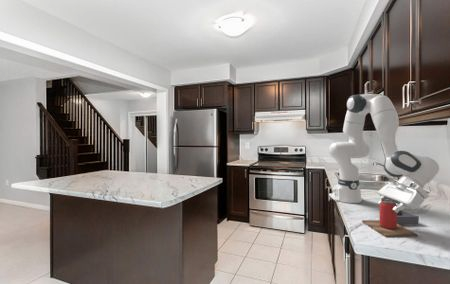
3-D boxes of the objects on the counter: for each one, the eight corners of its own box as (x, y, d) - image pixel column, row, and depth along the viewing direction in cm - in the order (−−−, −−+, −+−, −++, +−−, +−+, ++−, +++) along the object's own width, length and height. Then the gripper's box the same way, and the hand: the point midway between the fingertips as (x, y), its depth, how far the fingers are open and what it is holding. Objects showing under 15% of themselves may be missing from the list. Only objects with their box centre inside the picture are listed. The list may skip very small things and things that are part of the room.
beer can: (388, 230, 101) (389, 203, 101) (375, 224, 108) (376, 199, 107) (400, 228, 103) (400, 202, 102) (387, 223, 109) (387, 198, 109)
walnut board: (362, 222, 113) (362, 220, 113) (389, 221, 113) (389, 220, 113) (385, 236, 97) (385, 234, 97) (417, 236, 97) (417, 234, 97)
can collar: (380, 216, 121) (380, 209, 121) (400, 216, 121) (400, 208, 121) (396, 224, 110) (396, 216, 110) (418, 224, 110) (418, 216, 110)
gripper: (386, 177, 115) (367, 196, 115) (422, 187, 95) (398, 210, 95) (395, 186, 115) (376, 205, 115) (432, 197, 95) (409, 220, 95)
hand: (386, 207), depth 105 cm, fingers open, 8 cm apart
